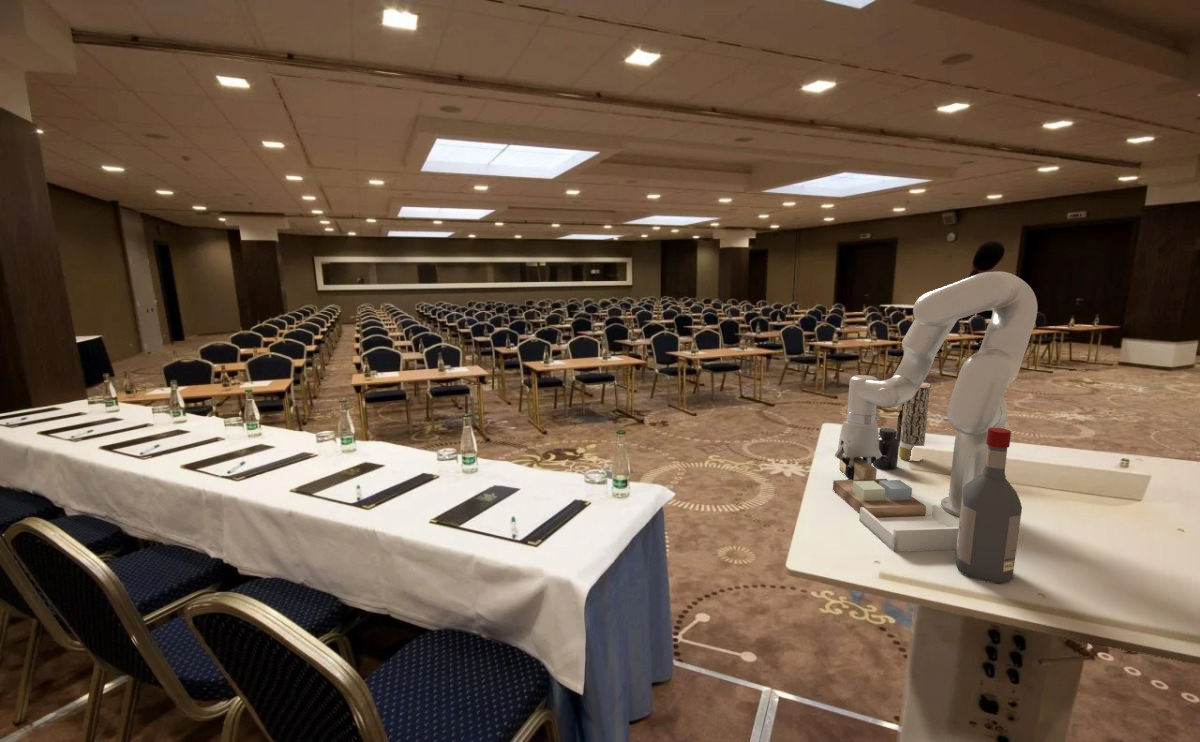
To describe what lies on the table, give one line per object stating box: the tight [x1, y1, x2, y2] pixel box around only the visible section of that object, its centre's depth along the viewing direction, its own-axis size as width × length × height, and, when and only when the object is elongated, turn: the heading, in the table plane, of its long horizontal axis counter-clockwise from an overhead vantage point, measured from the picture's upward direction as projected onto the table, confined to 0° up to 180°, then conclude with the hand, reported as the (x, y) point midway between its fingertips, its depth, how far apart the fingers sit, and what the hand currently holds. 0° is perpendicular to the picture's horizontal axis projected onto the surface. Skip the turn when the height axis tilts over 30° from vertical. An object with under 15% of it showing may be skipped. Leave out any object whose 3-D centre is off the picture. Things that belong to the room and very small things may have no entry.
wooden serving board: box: [832, 478, 927, 518], centre depth 142 cm, size 18×15×3 cm
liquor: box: [955, 427, 1023, 585], centre depth 107 cm, size 9×9×30 cm
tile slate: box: [879, 479, 913, 500], centre depth 140 cm, size 6×6×3 cm
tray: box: [859, 504, 960, 553], centre depth 125 cm, size 15×19×5 cm
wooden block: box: [839, 453, 878, 480], centre depth 158 cm, size 4×14×7 cm, turn 2°
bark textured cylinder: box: [898, 382, 931, 462], centre depth 172 cm, size 7×7×25 cm
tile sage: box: [852, 481, 885, 501], centre depth 139 cm, size 6×6×3 cm
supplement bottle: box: [872, 427, 900, 471], centre depth 167 cm, size 7×7×12 cm
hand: (856, 477), depth 158 cm, fingers closed on wooden block, 3 cm apart
